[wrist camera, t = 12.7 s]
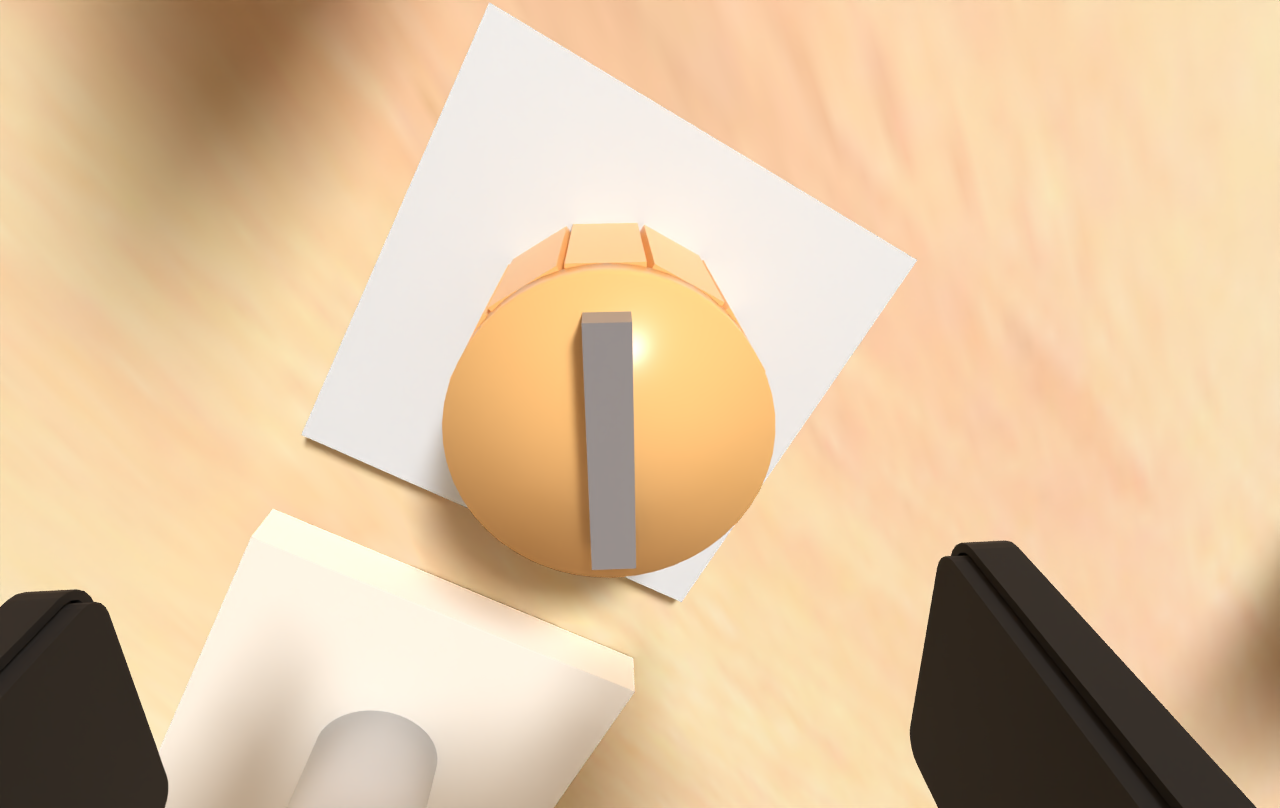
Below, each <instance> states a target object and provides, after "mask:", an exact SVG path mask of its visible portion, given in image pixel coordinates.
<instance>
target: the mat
mask: <svg viewBox="0 0 1280 808" xmlns="http://www.w3.org/2000/svg"><path fill="white" fill-rule="evenodd" d="M603 223H638V227H639V231H640V230H641V229H642V227H643V225H646V226H648V227H649V228H651V229H653V230H655V231H656V232H658V233H660V234H662V235H663V236H665V237H667V238H669V239H671V240H672V241H674V242H676V243H678V244H679V245H681V246H683V247H685V248H687V249H688V250H690V251H692V252H694V253H695V254H697V255H699V257H700V258H701V260H704V262H705V264H706V266H707V267H708V269H709V271H710V273H711V274H712V276H713V278H714V280H715V281H716V283H717V285H718V287H719V289H720V290H721V292H722V294H723V296H724V297H725V299H726V301H727V303H728V305H729V306H730V308H731V310H732V312H733V313H734V315H735V317H736V319H737V321H738V322H739V324H740V326H741V328H742V329H743V331H744V333H745V335H746V337H747V338H748V340H749V342H750V344H751V346H752V347H753V349H754V351H755V353H756V355H757V356H758V358H759V360H760V362H761V363H762V365H763V367H764V369H765V371H766V372H765V374H766V376H767V378H768V383H769V386H770V389H771V392H772V397H773V403H774V409H775V441H774V448H773V455H772V458H771V462H770V465H769V469H768V472H767V475H766V477H765V479H764V482H765V480H766V479H767V477H768V476H769V474H770V473H771V471H772V470H773V469H774V467H775V466H776V464H777V463H778V461H779V460H780V458H781V457H782V455H783V454H784V453H785V451H786V450H787V448H788V447H789V445H790V444H791V442H792V441H793V440H794V438H795V437H796V435H797V434H798V432H799V431H800V429H801V428H802V426H803V425H804V424H805V422H806V421H807V419H808V418H809V416H810V415H811V413H812V412H813V410H814V409H815V408H816V406H817V405H818V403H819V402H820V400H821V399H822V397H823V396H824V395H825V393H826V392H827V390H828V389H829V387H830V386H831V384H832V383H833V381H834V380H835V379H836V377H837V376H838V374H839V373H840V371H841V370H842V368H843V367H844V366H845V364H846V363H847V361H848V360H849V358H850V357H851V355H852V354H853V352H854V351H855V350H856V348H857V347H858V345H859V344H860V342H861V341H862V339H863V338H864V337H865V335H866V334H867V332H868V331H869V329H870V328H871V326H872V325H873V323H874V322H875V321H876V319H877V318H878V316H879V315H880V313H881V312H882V310H883V309H884V307H885V306H886V305H887V303H888V302H889V300H890V299H891V297H892V296H893V294H894V293H895V292H896V290H897V289H898V287H899V286H900V284H901V283H902V281H903V280H904V278H905V277H906V276H907V274H908V273H909V271H910V270H911V268H912V267H913V265H914V264H915V263H916V261H917V260H916V259H914V258H913V257H911V256H909V255H908V254H906V253H904V252H903V251H901V250H899V249H898V248H896V247H894V246H893V245H891V244H889V243H888V242H886V241H884V240H883V239H881V238H879V237H878V236H876V235H874V234H873V233H871V232H869V231H868V230H866V229H865V228H863V227H861V226H860V225H858V224H856V223H855V222H853V221H851V220H850V219H848V218H846V217H845V216H843V215H841V214H840V213H838V212H836V211H835V210H833V209H831V208H830V207H828V206H826V205H825V204H823V203H821V202H820V201H818V200H816V199H815V198H813V197H811V196H810V195H808V194H806V193H805V192H803V191H801V190H800V189H798V188H796V187H795V186H793V185H791V184H790V183H788V182H787V181H785V180H783V179H782V178H780V177H778V176H777V175H775V174H773V173H772V172H770V171H768V170H767V169H765V168H763V167H762V166H760V165H758V164H757V163H755V162H753V161H752V160H750V159H748V158H747V157H745V156H743V155H742V154H740V153H738V152H737V151H735V150H733V149H732V148H730V147H728V146H727V145H725V144H723V143H722V142H720V141H718V140H717V139H715V138H713V137H712V136H710V135H709V134H707V133H705V132H704V131H702V130H700V129H699V128H697V127H695V126H694V125H692V124H690V123H689V122H687V121H685V120H684V119H682V118H680V117H679V116H677V115H675V114H674V113H672V112H670V111H669V110H667V109H665V108H664V107H662V106H660V105H659V104H657V103H655V102H654V101H652V100H650V99H649V98H647V97H645V96H644V95H642V94H640V93H639V92H637V91H635V90H634V89H632V88H631V87H629V86H627V85H626V84H624V83H622V82H621V81H619V80H617V79H616V78H614V77H612V76H611V75H609V74H607V73H606V72H604V71H602V70H601V69H599V68H597V67H596V66H594V65H592V64H591V63H589V62H587V61H586V60H584V59H582V58H581V57H579V56H577V55H576V54H574V53H572V52H571V51H569V50H567V49H566V48H564V47H562V46H561V45H559V44H557V43H556V42H554V41H553V40H551V39H549V38H548V37H546V36H544V35H543V34H541V33H539V32H538V31H536V30H534V29H533V28H531V27H529V26H528V25H526V24H524V23H523V22H521V21H519V20H518V19H516V18H514V17H513V16H511V15H509V14H508V13H506V12H504V11H503V10H501V9H499V8H498V7H496V6H494V5H493V4H491V3H489V4H488V7H487V9H486V11H485V14H484V16H483V18H482V21H481V23H480V25H479V27H478V30H477V32H476V34H475V37H474V39H473V41H472V44H471V46H470V48H469V50H468V53H467V55H466V57H465V60H464V62H463V64H462V67H461V69H460V71H459V73H458V76H457V78H456V80H455V83H454V85H453V87H452V90H451V92H450V94H449V96H448V99H447V101H446V103H445V106H444V108H443V110H442V113H441V115H440V117H439V119H438V122H437V124H436V126H435V129H434V131H433V133H432V136H431V138H430V140H429V142H428V145H427V147H426V149H425V152H424V154H423V156H422V159H421V161H420V163H419V165H418V168H417V170H416V172H415V175H414V177H413V179H412V182H411V184H410V186H409V188H408V191H407V193H406V195H405V198H404V200H403V202H402V205H401V207H400V209H399V211H398V214H397V216H396V218H395V221H394V223H393V225H392V228H391V230H390V232H389V235H388V237H387V239H386V241H385V244H384V246H383V248H382V251H381V253H380V255H379V258H378V260H377V262H376V264H375V267H374V269H373V271H372V274H371V276H370V278H369V281H368V283H367V285H366V287H365V290H364V292H363V294H362V297H361V299H360V301H359V304H358V306H357V308H356V310H355V313H354V315H353V317H352V320H351V322H350V324H349V327H348V329H347V331H346V333H345V336H344V338H343V340H342V343H341V345H340V347H339V350H338V352H337V354H336V356H335V359H334V361H333V363H332V366H331V368H330V370H329V373H328V375H327V377H326V379H325V382H324V384H323V386H322V389H321V391H320V393H319V396H318V398H317V400H316V402H315V405H314V407H313V409H312V412H311V414H310V416H309V419H308V421H307V423H306V425H305V428H304V430H303V432H302V435H303V436H305V437H307V438H310V439H312V440H314V441H316V442H319V443H321V444H323V445H325V446H328V447H330V448H332V449H335V450H337V451H339V452H341V453H344V454H346V455H348V456H350V457H353V458H355V459H357V460H360V461H362V462H364V463H366V464H369V465H371V466H373V467H375V468H378V469H380V470H382V471H385V472H387V473H389V474H391V475H394V476H396V477H398V478H401V479H403V480H405V481H407V482H410V483H412V484H414V485H416V486H419V487H421V488H423V489H426V490H428V491H430V492H432V493H435V494H437V495H439V496H441V497H444V498H446V499H448V500H451V501H453V502H455V503H457V504H460V505H462V506H464V507H466V508H468V507H467V505H466V504H465V502H464V501H463V500H462V498H461V496H460V494H459V492H458V490H457V488H456V486H455V484H454V482H453V480H452V477H451V474H450V471H449V468H448V465H447V462H446V457H445V452H444V446H443V435H442V418H443V408H444V401H445V397H446V393H447V389H448V385H449V382H450V378H451V376H452V374H453V372H454V370H455V367H456V365H457V363H458V361H459V359H460V357H461V355H462V353H463V351H464V349H465V348H466V346H467V344H468V342H469V340H470V338H471V336H472V334H473V332H474V330H475V328H476V326H477V324H478V322H479V320H480V318H481V316H482V314H483V312H484V310H485V308H486V306H487V304H488V302H489V300H490V298H491V296H492V294H493V293H494V291H495V289H496V287H497V285H498V283H499V281H500V279H501V277H502V275H503V273H504V272H505V270H506V268H507V266H508V264H511V262H512V260H513V259H514V258H516V257H517V256H519V255H520V254H522V253H524V252H525V251H527V250H528V249H530V248H532V247H533V246H535V245H537V244H538V243H540V242H541V241H543V240H545V239H546V238H548V237H550V236H551V235H553V234H554V233H556V232H558V231H559V230H561V229H562V228H564V227H566V226H567V227H568V229H569V230H570V232H571V231H572V226H573V224H603ZM764 482H763V483H764ZM733 527H734V526H733ZM733 527H732V528H733ZM732 528H731V529H732ZM731 529H730V530H729V531H728V532H727V533H726V534H725V535H724V536H722V537H721V538H720V539H719V540H717V541H716V542H715V543H713V544H712V545H711V546H709V547H708V548H706V549H705V550H703V551H701V552H700V553H698V554H696V555H695V556H693V557H691V558H689V559H687V560H685V561H682V562H680V563H678V564H676V565H674V566H671V567H667V568H664V569H661V570H658V571H655V572H651V573H646V574H641V575H636V576H626V578H628V579H630V580H632V581H635V582H637V583H639V584H641V585H644V586H646V587H648V588H651V589H653V590H655V591H657V592H660V593H662V594H664V595H666V596H669V597H671V598H673V599H676V600H678V601H680V602H682V601H683V599H684V598H685V596H686V595H687V593H688V592H689V590H690V589H691V587H692V586H693V585H694V583H695V582H696V580H697V579H698V577H699V576H700V574H701V573H702V572H703V570H704V569H705V567H706V566H707V564H708V563H709V561H710V560H711V558H712V557H713V556H714V554H715V553H716V551H717V550H718V548H719V547H720V545H721V544H722V543H723V541H724V540H725V538H726V537H727V535H728V534H729V532H730V531H731Z"/></svg>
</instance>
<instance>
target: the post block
mask: <svg viewBox="0 0 1280 808" xmlns="http://www.w3.org/2000/svg"><path fill="white" fill-rule="evenodd" d="M634 692H635V682H634V662H633V658H632V657H630V656H627V655H625V654H622V653H620V652H618V651H615V650H613V649H610V648H608V647H605V646H603V645H601V644H598V643H596V642H593V641H591V640H589V639H586V638H584V637H581V636H579V635H577V634H574V633H572V632H569V631H567V630H564V629H562V628H560V627H557V626H555V625H552V624H550V623H548V622H545V621H543V620H540V619H538V618H536V617H533V616H531V615H528V614H526V613H523V612H521V611H519V610H516V609H514V608H511V607H509V606H507V605H504V604H502V603H499V602H497V601H494V600H492V599H490V598H487V597H485V596H482V595H480V594H478V593H475V592H473V591H470V590H468V589H466V588H463V587H461V586H458V585H456V584H453V583H451V582H449V581H446V580H444V579H441V578H439V577H437V576H434V575H432V574H429V573H427V572H425V571H422V570H420V569H417V568H415V567H412V566H410V565H408V564H405V563H403V562H400V561H398V560H396V559H393V558H391V557H388V556H386V555H383V554H381V553H379V552H376V551H374V550H371V549H369V548H367V547H364V546H362V545H359V544H357V543H355V542H352V541H350V540H347V539H345V538H342V537H340V536H338V535H335V534H333V533H330V532H328V531H326V530H323V529H321V528H318V527H316V526H314V525H311V524H309V523H306V522H304V521H301V520H299V519H297V518H294V517H292V516H289V515H287V514H285V513H282V512H280V511H277V510H275V509H272V511H271V512H270V513H269V515H268V516H267V517H266V518H265V520H264V521H263V522H262V524H261V525H260V526H259V527H258V529H257V530H256V531H255V533H254V534H253V535H252V536H251V539H250V541H249V543H248V545H247V548H246V550H245V552H244V555H243V557H242V559H241V562H240V564H239V566H238V569H237V571H236V573H235V576H234V578H233V580H232V583H231V585H230V587H229V590H228V592H227V594H226V596H225V599H224V601H223V603H222V606H221V608H220V610H219V613H218V615H217V617H216V620H215V622H214V624H213V627H212V629H211V631H210V634H209V636H208V638H207V641H206V643H205V645H204V647H203V650H202V652H201V654H200V657H199V659H198V661H197V664H196V666H195V668H194V671H193V673H192V675H191V678H190V680H189V682H188V685H187V687H186V689H185V691H184V694H183V696H182V698H181V701H180V703H179V705H178V708H177V710H176V712H175V715H174V717H173V719H172V722H171V724H170V726H169V729H168V731H167V733H166V736H165V738H164V740H163V742H162V745H161V747H160V749H159V752H158V753H159V755H160V758H161V761H162V764H163V767H164V769H165V772H166V775H167V779H168V797H167V802H166V805H165V808H554V807H555V805H556V804H557V803H558V801H559V800H560V798H561V797H562V795H563V794H564V793H565V791H566V790H567V788H568V787H569V785H570V784H571V782H572V781H573V780H574V778H575V777H576V775H577V774H578V772H579V771H580V770H581V768H582V767H583V765H584V764H585V762H586V761H587V760H588V758H589V757H590V755H591V754H592V752H593V751H594V750H595V748H596V747H597V745H598V744H599V742H600V741H601V740H602V738H603V737H604V735H605V734H606V732H607V731H608V730H609V728H610V727H611V725H612V724H613V722H614V721H615V719H616V718H617V717H618V715H619V714H620V712H621V711H622V709H623V708H624V707H625V705H626V704H627V702H628V701H629V699H630V698H631V697H632V695H633V694H634Z"/></svg>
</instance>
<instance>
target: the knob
mask: <svg viewBox="0 0 1280 808" xmlns="http://www.w3.org/2000/svg"><path fill="white" fill-rule="evenodd" d="M765 372H766V371H765V369H764V367H763V365H762V363H761V362H760V360H759V358H758V356H757V355H756V353H755V351H754V349H753V347H752V346H751V344H750V342H749V340H748V338H747V337H746V335H745V333H744V331H743V329H742V328H741V326H740V324H739V322H738V321H737V319H736V317H735V315H734V313H733V312H732V310H731V308H730V306H729V305H728V303H727V301H726V299H725V297H724V296H723V294H722V292H721V290H720V289H719V287H718V285H717V283H716V281H715V280H714V278H713V276H712V274H711V273H710V271H709V269H708V267H707V266H706V264H705V262H704V260H701V258H700V257H699V255H697V254H695V253H694V252H692V251H690V250H688V249H687V248H685V247H683V246H681V245H679V244H678V243H676V242H674V241H672V240H671V239H669V238H667V237H665V236H663V235H662V234H660V233H658V232H656V231H655V230H653V229H651V228H649V227H648V226H646V225H643V227H642V229H641V230H640V231H639V227H638V223H603V224H573V226H572V231H571V232H570V230H569V229H568V227H567V226H566V227H564V228H562V229H561V230H559V231H558V232H556V233H554V234H553V235H551V236H550V237H548V238H546V239H545V240H543V241H541V242H540V243H538V244H537V245H535V246H533V247H532V248H530V249H528V250H527V251H525V252H524V253H522V254H520V255H519V256H517V257H516V258H514V259H513V260H512V262H511V264H508V266H507V268H506V270H505V272H504V273H503V275H502V277H501V279H500V281H499V283H498V285H497V287H496V289H495V291H494V293H493V294H492V296H491V298H490V300H489V302H488V304H487V306H486V308H485V310H484V312H483V314H482V316H481V318H480V320H479V322H478V324H477V326H476V328H475V330H474V332H473V334H472V336H471V338H470V340H469V342H468V344H467V346H466V348H465V349H464V351H463V353H462V355H461V357H460V359H459V361H458V363H457V365H456V367H455V370H454V372H453V374H452V376H451V378H450V382H449V385H448V389H447V393H446V397H445V401H444V408H443V418H442V435H443V446H444V452H445V457H446V462H447V465H448V468H449V471H450V474H451V477H452V480H453V482H454V484H455V486H456V488H457V490H458V492H459V494H460V496H461V498H462V500H463V501H464V502H465V504H466V505H467V507H468V508H469V510H470V511H471V513H472V514H473V515H474V517H475V518H476V519H477V520H478V521H479V522H480V523H481V524H482V525H483V526H484V528H485V529H486V530H487V531H489V532H490V533H491V534H492V535H493V536H494V537H496V538H497V539H498V540H499V541H500V542H501V543H503V544H504V545H506V546H507V547H509V548H510V549H512V550H513V551H515V552H516V553H518V554H520V555H522V556H524V557H526V558H528V559H530V560H532V561H533V562H535V563H538V564H541V565H543V566H546V567H549V568H551V569H554V570H558V571H562V572H566V573H570V574H574V575H582V576H589V577H612V578H615V577H626V576H636V575H641V574H646V573H651V572H655V571H658V570H661V569H664V568H667V567H671V566H674V565H676V564H678V563H680V562H682V561H685V560H687V559H689V558H691V557H693V556H695V555H696V554H698V553H700V552H701V551H703V550H705V549H706V548H708V547H709V546H711V545H712V544H713V543H715V542H716V541H717V540H719V539H720V538H721V537H722V536H724V535H725V534H726V533H727V532H728V531H729V530H730V529H731V528H732V527H733V526H734V525H735V524H736V523H737V522H738V521H739V520H740V518H741V517H742V516H743V515H744V513H745V512H746V511H747V509H748V508H749V507H750V505H751V504H752V502H753V500H754V499H755V497H756V495H757V494H758V492H759V491H760V488H761V486H762V484H763V482H764V479H765V477H766V475H767V472H768V469H769V465H770V462H771V458H772V455H773V448H774V441H775V409H774V403H773V397H772V392H771V389H770V386H769V383H768V378H767V376H766V374H765Z"/></svg>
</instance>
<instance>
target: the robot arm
mask: <svg viewBox="0 0 1280 808" xmlns="http://www.w3.org/2000/svg"><path fill="white" fill-rule="evenodd" d="M910 741H911V747H912V751H913V755H914V758H915V760H916V763H917V765H918V767H919V769H920V771H921V773H922V775H923V778H924V780H925V782H926V784H927V786H928V788H929V790H930V792H931V794H932V796H933V798H934V800H935V802H936V804H937V806H938V808H1256V807H1255V805H1254V804H1253V803H1252V802H1251V801H1250V800H1249V799H1248V798H1247V797H1246V796H1245V795H1244V793H1243V792H1242V791H1241V790H1240V789H1239V788H1238V787H1237V786H1236V785H1235V784H1234V783H1233V781H1232V780H1231V779H1230V778H1229V777H1228V776H1227V775H1226V774H1225V773H1224V772H1223V771H1222V769H1221V768H1220V767H1219V766H1218V765H1217V764H1216V763H1215V762H1214V761H1213V760H1212V759H1211V757H1210V756H1209V755H1208V754H1207V753H1206V752H1205V751H1204V750H1203V749H1202V748H1201V747H1200V745H1199V744H1198V743H1197V742H1196V741H1195V740H1194V739H1193V738H1192V737H1191V736H1190V735H1189V733H1188V732H1187V731H1186V730H1185V729H1184V728H1183V727H1182V726H1181V725H1180V724H1179V722H1178V721H1177V720H1176V719H1175V718H1174V717H1173V716H1172V715H1171V714H1170V713H1169V712H1168V710H1167V709H1166V708H1165V707H1164V706H1163V705H1162V704H1161V703H1160V702H1159V701H1158V700H1157V698H1156V697H1155V696H1154V695H1153V694H1152V693H1151V692H1150V691H1149V690H1148V689H1147V688H1146V686H1145V685H1144V684H1143V683H1142V682H1141V681H1140V680H1139V679H1138V678H1137V677H1136V676H1135V674H1134V673H1133V672H1132V671H1131V670H1130V669H1129V668H1128V667H1127V666H1126V665H1125V664H1124V662H1123V661H1122V660H1121V659H1120V658H1119V657H1118V656H1117V655H1116V654H1115V653H1114V652H1113V650H1112V649H1111V648H1110V647H1109V646H1108V645H1107V644H1106V643H1105V642H1104V641H1103V640H1102V638H1101V637H1100V636H1099V635H1098V634H1097V633H1096V632H1095V631H1094V630H1093V629H1092V627H1091V626H1090V625H1089V624H1088V623H1087V622H1086V621H1085V620H1084V619H1083V618H1082V617H1081V615H1080V614H1079V613H1078V612H1077V611H1076V610H1075V609H1074V608H1073V607H1072V606H1071V605H1070V603H1069V602H1068V601H1067V600H1066V599H1065V598H1064V597H1063V596H1062V595H1061V594H1060V593H1059V591H1058V590H1057V589H1056V588H1055V587H1054V586H1053V585H1052V584H1051V583H1050V582H1049V581H1048V579H1047V578H1046V577H1045V576H1044V575H1043V574H1042V573H1041V572H1040V571H1039V570H1038V569H1037V567H1036V566H1035V565H1034V564H1033V563H1032V562H1031V561H1030V560H1029V559H1028V558H1027V557H1026V555H1025V554H1024V553H1023V552H1022V551H1021V550H1020V549H1019V548H1018V547H1017V546H1016V545H1015V544H1013V543H1012V542H1009V541H988V542H969V543H960V544H958V545H956V546H955V548H954V549H953V551H952V554H951V556H945V557H943V558H941V560H940V561H939V563H938V567H937V572H936V578H935V584H934V590H933V596H932V602H931V608H930V613H929V619H928V625H927V631H926V637H925V643H924V649H923V655H922V661H921V667H920V673H919V678H918V684H917V690H916V696H915V702H914V708H913V714H912V720H911V726H910ZM167 797H168V779H167V775H166V772H165V769H164V767H163V764H162V761H161V758H160V755H159V753H158V750H157V747H156V744H155V741H154V739H153V736H152V733H151V730H150V727H149V725H148V722H147V719H146V716H145V713H144V711H143V708H142V705H141V702H140V699H139V697H138V694H137V691H136V688H135V685H134V682H133V680H132V677H131V674H130V671H129V668H128V666H127V663H126V660H125V657H124V654H123V652H122V649H121V646H120V643H119V640H118V638H117V635H116V632H115V629H114V626H113V624H112V621H111V618H110V615H109V613H108V611H107V609H106V607H105V606H104V605H102V604H101V603H97V602H93V600H92V598H91V597H90V596H89V595H88V594H87V593H86V592H85V591H81V590H58V591H39V592H24V593H20V594H16V595H15V596H13V597H12V598H10V599H9V600H7V601H6V602H5V603H4V604H3V605H2V606H1V607H0V808H165V805H166V802H167Z"/></svg>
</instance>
